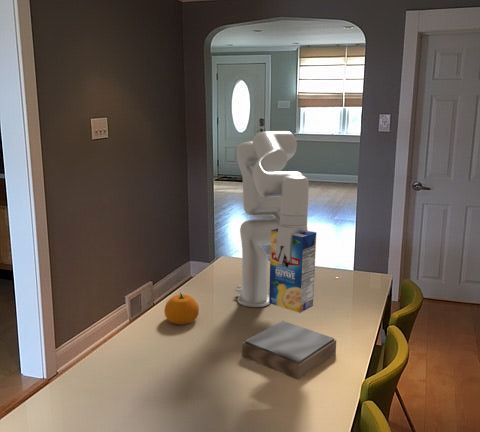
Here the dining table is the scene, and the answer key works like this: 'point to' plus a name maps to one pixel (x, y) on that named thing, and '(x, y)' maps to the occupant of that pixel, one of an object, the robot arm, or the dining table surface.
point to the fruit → (181, 309)
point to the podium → (289, 349)
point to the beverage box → (293, 273)
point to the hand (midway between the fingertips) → (291, 281)
